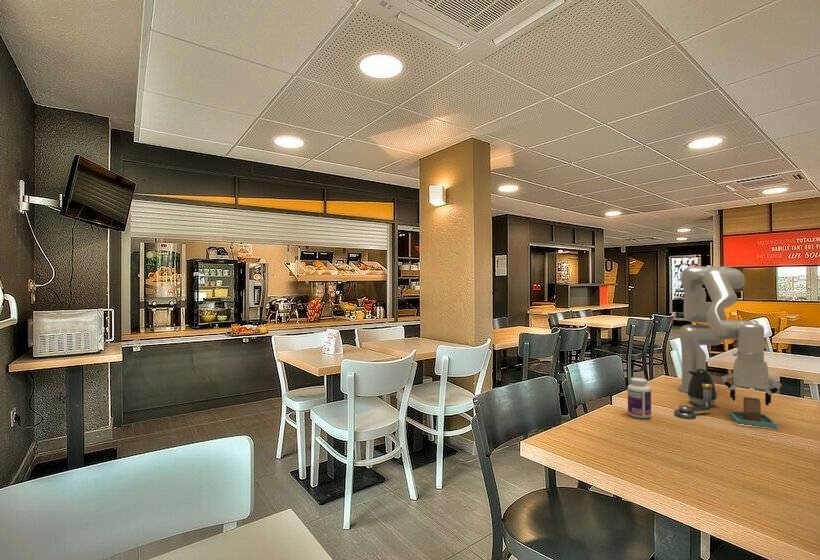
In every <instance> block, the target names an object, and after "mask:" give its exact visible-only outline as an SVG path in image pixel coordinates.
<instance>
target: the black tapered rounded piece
mask: <svg viewBox="0 0 820 560" xmlns="http://www.w3.org/2000/svg"><path fill="white" fill-rule="evenodd" d="M689 373H690V374H692V377H691V379H690V382H689V385H688V392H686V394H687V395H688V398H689V401H690V402H691V403H692V404H694V405H695V406H701V405H703V387H702V383H708V384H712V388H711V406H713V405H714V404H715V403H716V401H717V398H718V395H717V394H718V393H717V390H716V389H717V388H716V385H715V382H714V379H713V377H712V376H711V374H710V373H709V371H708V370H707V369H706V370H704V369H697V370H696V371H695V372H692V371H689Z"/></svg>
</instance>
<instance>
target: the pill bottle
mask: <svg viewBox="0 0 820 560" xmlns="http://www.w3.org/2000/svg"><path fill="white" fill-rule="evenodd" d="M630 382H631V383H630V384H628V385H627V413H628V415H629V416H631V417H633V418H637V419H649V418H651V417H652V390H651V389H652V388H651V387H650V386H649V385H647V384H648V380H647V379H645V378H642V377H631V378H630Z"/></svg>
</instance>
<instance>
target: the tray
mask: <svg viewBox="0 0 820 560" xmlns="http://www.w3.org/2000/svg"><path fill="white" fill-rule="evenodd" d="M729 416H730V417H731V418H732V419H733V420H734V421H735V422H736V423H737V424H744V425H752V426H759V427H767V428H772V429H778V424H777V423H776V422H775V421H773V419H772V418H770V417H769V416H768V415H767V414H764V413H761V422H757V421H748V420H744V411H736V410H728V417H729ZM730 417H729V418H730ZM731 418H730V419H731ZM732 419H731V420H732ZM733 420H732V421H733ZM734 421H733V422H734Z"/></svg>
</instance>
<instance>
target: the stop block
mask: <svg viewBox="0 0 820 560" xmlns="http://www.w3.org/2000/svg"><path fill="white" fill-rule="evenodd" d="M742 398H743V407H742V408H743V412H744V420H748V421H757V422H761V414H762V413H761V412H762V410H761V409H762V407H761V400H760V398H757V397H756V398H754V397H746V396H743V397H742Z"/></svg>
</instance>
